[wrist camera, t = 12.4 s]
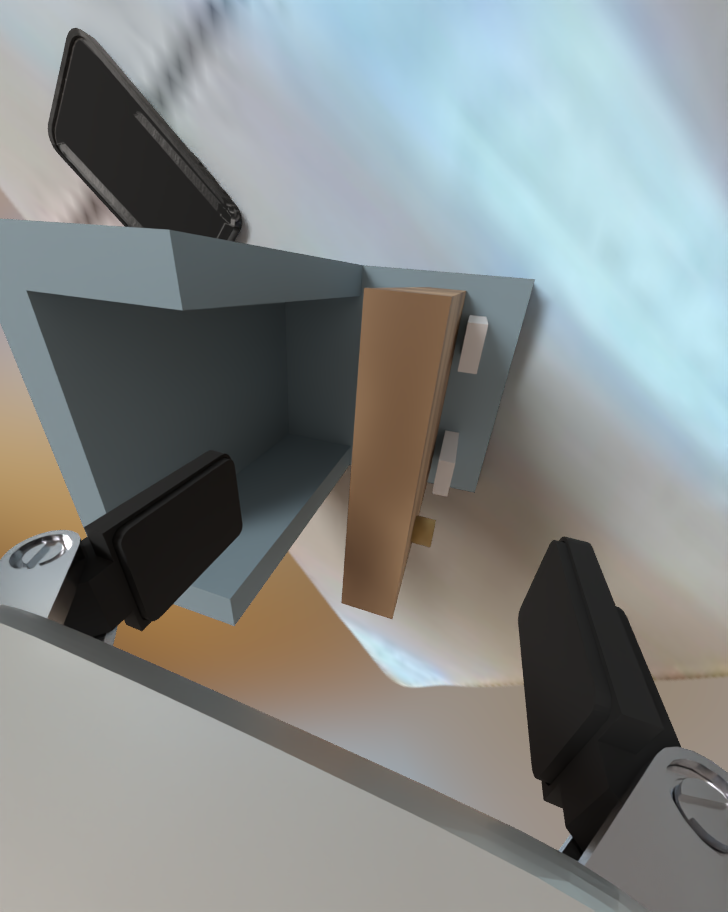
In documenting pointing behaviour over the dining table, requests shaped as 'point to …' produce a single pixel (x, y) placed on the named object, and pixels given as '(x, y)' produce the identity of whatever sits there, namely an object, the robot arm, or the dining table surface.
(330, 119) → the dining table surface
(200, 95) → the dining table surface
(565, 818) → the robot arm
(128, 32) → the dining table surface
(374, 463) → the door
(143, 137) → the phone
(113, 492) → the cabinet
